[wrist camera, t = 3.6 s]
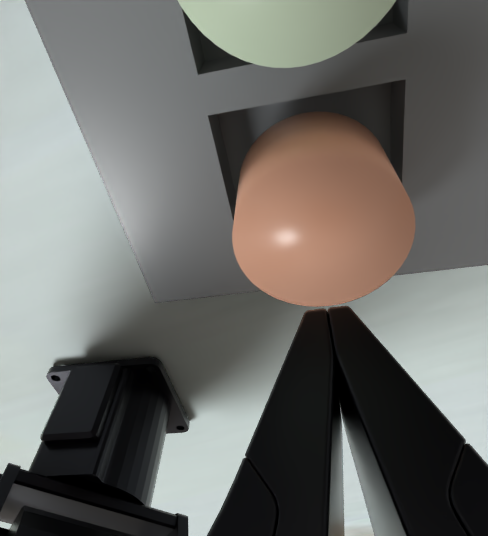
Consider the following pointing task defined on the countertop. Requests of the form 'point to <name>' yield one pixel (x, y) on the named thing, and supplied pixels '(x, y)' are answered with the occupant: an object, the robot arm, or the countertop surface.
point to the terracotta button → (320, 212)
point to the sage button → (285, 27)
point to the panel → (269, 125)
